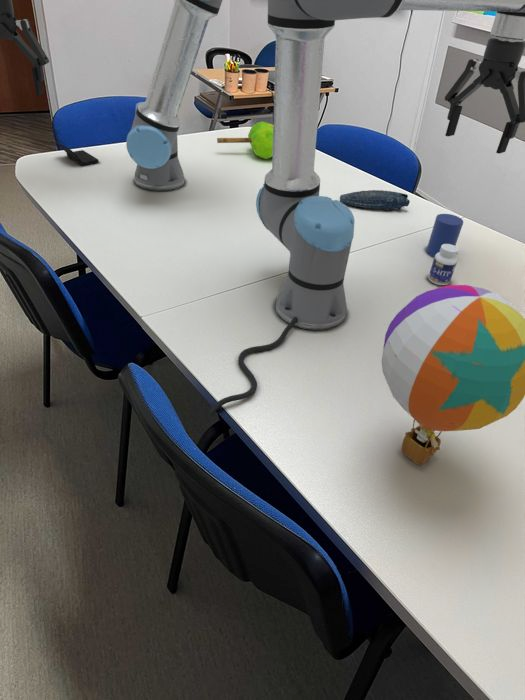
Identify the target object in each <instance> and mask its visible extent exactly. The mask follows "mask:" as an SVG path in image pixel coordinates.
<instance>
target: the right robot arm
mask: <svg viewBox="0 0 525 700" xmlns="http://www.w3.org/2000/svg"><path fill="white" fill-rule="evenodd" d="M398 11H434V12H435V11H442V12H444V11H446V12H496V13H495V17H494V18H493V19H494V20H493V23H492V25H491V29H490V33H489V34H490V35H491V37H489V38H488V40H487V43H486V46H485V49H484V53H483V58H482V60H481V61H480V60H479V59H478V58H471V59H469V60H468V61H467V63H466V65H465V68H464V70H463V72H461V74H460V75H459V77H458V79H457V80H456V81H455V82H454V84H453V85H452V86H451V88H450V89H449V91H448V92H447V93H446V94H445V96H444V101H445V102H448V103H449V104H450V106H449V111H448V113H447V120H448V125H447V127H446V131H445V137H452V136H455V134H456V132H457V131H456V130H457V127H458V123H459V120H460V118H461V117H460V116H461V113H462V110H463V107H464V106H463V105H461V104H462V103H463V102H464V101H465V100H467V99H468V98H469V97H470V96H472V95H473V94H474V93H475V92H476V91H478V90H479V88H481V87H482V86H483V87H484V88H491V89H492V90H495V91H496V90H497V91H498V90H499V92H500V94H501V95H502V98H503V100H504V104H505V108H506V110H507V113H508V117H509V119H510V121H506V124H505V126H504V129H503V131H502V135H501V137H500V140H499V143H498V146H497V148H496V152H495V153H496V154H503V153H506V151H507V148H508V145H509V142H510V140H512V139H514V138H515V137H516V134H517V132H518V128H519V126H520V124H521V123H522V124H523V123H525V70H519V68H518V67H519V64H520V63H521V60H522V57H523V55H524V51H525V0H267V26H268V27H269V29H270V30H271V31H272V32H273V34H274V35H275V54H274V55H275V56H274V57H275V58H274V59H275V60H274V92H273V93H274V95H273V123H272V124H273V157H271V158H272V159H271V161H272V163H271V167H272V168H271V169H270V170H269V171H268V172H267V173H266V174H265V175H264V183H263V184H262V185H263V186H262V187H261V188H260V189H259V190H258V193H257V195H256V200H255V208H256V209H255V210H256V214H257V216H258V219H259V220H260V221H261V223H262V225H263V227H264V228H265V229H266V230H267V231H269V232H270V233H271V234H272V235H273V236H274V237H275V238H276V239H277V240H278V241H279V242H280V243H281V244H282V245H283V246H284V247H285V248H286V249H287V250H288V251H289V262H288V263H289V264H288V270H287V271H288V272H287V275H286V278H285V279H284V282H283V283H282V285H281V287H280V290H279V291H278V294H277V296H276V300H275V311H276V313H277V315H278V316H279V317H280V318H281V319H282V320H283V321H284V322H286V323H287V325H286V326H285V328H284V329H283V330H282V332H281V334H280V336H279V337H278V339H276V340H275V341H273V342H271V343H269V344H265V345H263V344H262V345H256V346H251V347H248V348H246V349H243V350H242V351H241V352H240V353H239V356H238V359H237V361H238V365H239V367H240V369H241V370H242V371H243V373H244V374H245V375H246V376H247V378H248V379H249V380H250V384H251V385H250V388H249V389H248V390H247V391H245V392H243V393H238V394H233V395H229V396H226V397H223V398H222V399H219V400H218V401H217V402H216V403H214V405H212V407H211V408H210V409H209V411H208V414H207V415H208V416H209V417H213V416H214V415H215V414H216V412H218V410H219V409H220V408H221V407H223V406H224V405H226V404H229V403H231V402H236V401H240V400H244V399H247V398H250V397H252V396H253V395H254V394H255V392H256V390H257V387H258V382H257V379H256V377H255V375H254V374H253V373H252V370H250V369H249V367H248V366H247V365H246V364H245V361H244V359H245V357H246V356H247V355H249V354H251V353H255V352H261V351H268V350H271V349H274V348H276V347H278V346H280V345H281V344H282V343H283V341H284V340H285V339H286V338H287V335H288V334H289V332H290V331H291V330H292V328H293V327H296V328H300V329H304V330H310V331H324V330H325V331H326V330H329V329H333V328H336V327H337V326H339V325H340V324H342V323H343V322H344V320H345V318H346V315H347V310H348V309H347V308H348V307H347V306H348V305H347V297H346V292H345V286H344V280H345V275H346V271H347V267H348V262H349V257H350V253H351V247H352V244H353V243H352V242H353V239H354V235H355V216H354V214H353V212H352V211H351V209H350V207H348V205H347V204H345V203H343V202H342V203H341V202H340V200H337V199H333V198H331V197H328V196H323V195H320V190H321V177H320V176H319V175H318V174H317V172H315V162H316V161H315V160H316V148H317V135H318V124H319V113H320V112H319V111H320V100H321V87H322V77H323V75H322V74H323V63H324V50H325V41H326V37H327V35H328V34H330V32H331V31H332V30H333V29H334V28H335V24H336V21H345V20H346V21H347V20H359V19H372V18H373V19H375V18H381V19H382V18H385V19H386V18H390V17H392V16H394V15H395V14H396V13H397V12H398ZM477 71H478V72H479V75H478V76H477V77H476V78H475V79H474V80H473V81H472V82H471V83H470V84H469V85H468V86H467V87H465V86H466V84H467V83H468V82H469V80H470V79H471V78H472V77H473V75H474V73H475V72H477ZM515 78H516V82H517V97H518V101H517V98H516V94H515V91H514V89H515V88H514V87H515V86H514V84H513V80H514V79H515ZM464 87H465V88H464ZM463 88H464V89H463ZM462 89H463V90H462Z"/></svg>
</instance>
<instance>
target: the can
mask: <svg viewBox="0 0 525 700" xmlns="http://www.w3.org/2000/svg"><path fill="white" fill-rule="evenodd" d="M463 225H464V220H463V219H462V218H461V217H460V216H457V215H455V214H450V213H439V214H437V215H436V217H435V220H434V223H433V226H432V230H431V233H430V237H429V238H428V239H429V240H428V242H427V246H426V253H427V254H428V255H429V256H430V257H433V258H434V257H435V255H436V254H437V253H438V252H440V248H441V246H442V245H443V244H451V245H454V246H456V247H457V242H458V240H459V237H460V233H461V231H462V228H463Z"/></svg>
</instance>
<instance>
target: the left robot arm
mask: <svg viewBox="0 0 525 700" xmlns="http://www.w3.org/2000/svg"><path fill="white" fill-rule="evenodd" d="M173 1H174V4H173V7H172V9H171V10H172V11H171V13H170V17H169V20H168V24H167V28H166V30H165V34H164V38H163V41H162V45H161V47H160V51H159V55H158V58H157V60H156V65H155V68H154V72H153V74H152V79H151V82H150V85H149V89H148V91H147V94H146V99H145V101H140V102H137V103H136V104H135V111H134V113H135V115H134V118H133V122H132V125H131V128H130V130H129V132H128V133H127V136H126V150H127V153H128V155H129V156H130V159H131V160H132V161H133V162H134V163H135V164H136V166H135V167H136V168H135V171H134V183H135V185H136V186H137V187H139V188H142V189H145V190H149V191H155V192H165V191H173V190H177V189H179V188H181V187H183V186H184V185H185V174H184V171H183V168H182V165H181V162H180V159H179V149H178V148H179V147H178V132H179V129H180V126H181V122H180V119H179V117H178V114H179V110H180V108H181V105H182V102H183V99H184V96H185V93H186V89H187V87H188V83H189V81H190V79H191V75H192V72H193V70H194V69H193V68H194V66H195V63H196V60H197V57H198V55H199V50H200V48H201V45H202V42H203V39H204V37H205V33H206V30H207V27H208V24H209V21H210V20H211V19H213V18H215V17H217V16H218V15H219V11H220V9H221V6H222V3H223V0H173ZM17 28H19V30H20V31H22V33H23V35H24V37H25V38H26V40H27V42H28V43H29V45H28V44H27V43H26V41H25V40H24V38H22V35H21V34H20V33H19V32H18V31H17ZM0 39H1V40H4V41H8V40H10V41H11V42H12V43H13V44H15V46H16V47H17V48H18V49H19V50H20V51H21V52H22V53H23V54H24V56H25V57H26V58H27V59H28V61H30V62H31V64H32V65H33V66H32V67H31V72H32V73H31V74H32V77H33V83H34V88H35V90H34V91H35V93H36V95H35V96H37V97H40V96H42V95H44V90H43V89H44V88H43V81H44V80H45V74H44V69H43V66H46V65H47V64H49V63H50V59H49V57H48V56H47V54H46V52H45V51H44V49H43V47H42V46H41V44H40V42H39V41H38V39H37V36H36V35H35V33H34V32H33V30H32V26H31V23H30V21H29V19H28V18H25V19H19V20H18V19H17V18H16V16H15V11H14V5H13V0H0Z"/></svg>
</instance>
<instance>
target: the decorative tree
mask: <svg viewBox="0 0 525 700" xmlns="http://www.w3.org/2000/svg"><path fill="white" fill-rule="evenodd" d="M216 142H217V144H236V143H237V144H240V143H241V144H245V143H247V144H250V146H251V148H252V150H253V152H254V154H255V155H256V156H257V157H260V158H261V159H264V160H268V159H271V158H272V157H273V123H269V122H266V121H259V122H257V123H254V124H253V125H251V128H250V129H249V132H248V134H247V137H217V138H216Z"/></svg>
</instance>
